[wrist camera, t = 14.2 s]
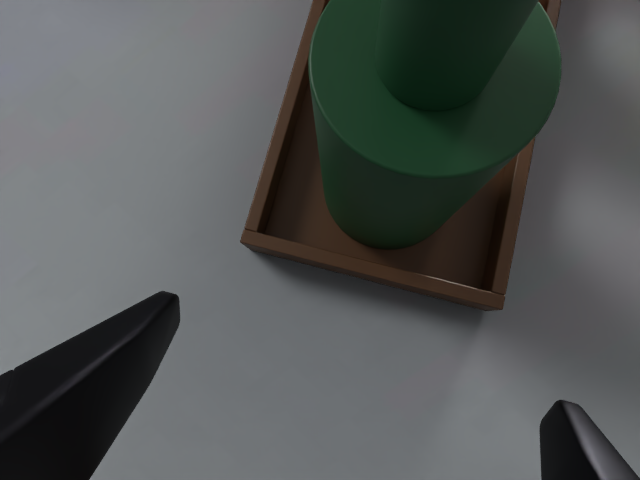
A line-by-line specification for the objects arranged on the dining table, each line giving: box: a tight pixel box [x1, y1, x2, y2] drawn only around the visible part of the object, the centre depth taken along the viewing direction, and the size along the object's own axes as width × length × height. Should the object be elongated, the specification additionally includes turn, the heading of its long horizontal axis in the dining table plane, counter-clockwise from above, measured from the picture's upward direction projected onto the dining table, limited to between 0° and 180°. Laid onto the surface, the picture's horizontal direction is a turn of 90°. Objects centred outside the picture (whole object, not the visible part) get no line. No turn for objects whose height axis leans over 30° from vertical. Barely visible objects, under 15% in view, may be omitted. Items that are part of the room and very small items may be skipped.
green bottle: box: [308, 0, 561, 250], centre depth 13 cm, size 6×6×14 cm
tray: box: [240, 0, 561, 311], centre depth 21 cm, size 28×11×2 cm, turn 165°
